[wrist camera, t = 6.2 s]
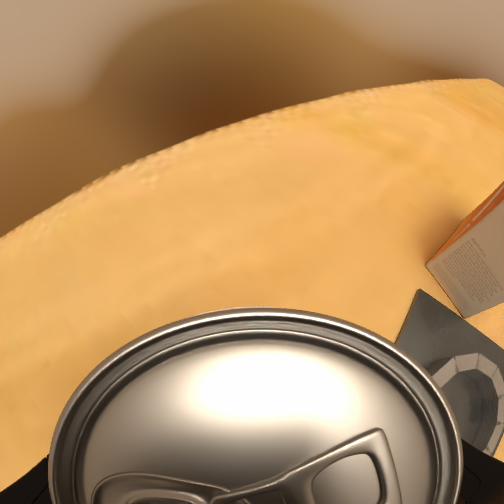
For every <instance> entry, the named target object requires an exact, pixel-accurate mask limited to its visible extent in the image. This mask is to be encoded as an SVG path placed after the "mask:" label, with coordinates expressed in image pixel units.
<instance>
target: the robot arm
mask: <svg viewBox="0 0 504 504" xmlns="http://www.w3.org/2000/svg"><path fill="white" fill-rule="evenodd" d="M461 442H462V450H463V476H462V484H461V490H460V494H459V498H458V502H457V504H504V462H502V461H500V460H498V459H496V458H494V457H492V456H490V455H488V454H486V453H484V452H483V451H481V450H479V449H477V448H476V447H474V446H473V445H471V444H469V443H468V442H466V441H465V440H463V439H462V438H461ZM48 461H49V454H48V455H47V458H46V457H45V458H44V459H42V460H41V461H40V462H39V463H38V464H37V465H36V466H35V467H33V468H32V469H31V470H30V471H29V472H28V473H26V474H25V475H24V476H22V477H21V478H20V479H18V480H17V481H16V482H14V483H13V484H12V485H10V486H9V487H7V488H6V489H4V490H3V491H1V492H0V504H52V500H51V495H50V490H49V480H48Z"/></svg>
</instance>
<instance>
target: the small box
mask: <svg viewBox="0 0 504 504" xmlns="http://www.w3.org/2000/svg"><path fill="white" fill-rule="evenodd" d="M426 268H427V269H428V270H429V271H430V273H431V274H432V275H433V276H434V278H435V279H436V280H437V282H438V283H439V284H440V286H441V287H442V288H443V290H444V291H445V292H446V294H447V295H448V297H449V298H450V299H451V301H452V302H453V304H454V305H455V306H456V308H457V309H458V311H459V312H460V313H461V315H462V316H463V317H464V318H468V317H470V316H473V315H475V314H477V313H480V312H482V311H485V310H487V309H489V308H492V307H494V306H496V305H498V304H501V303H503V302H504V182H503V183H502V184H501V185H500V186H499V187H498V188H497V189H496V190H495V191H494V192H493V193H492V194H491V195H490V196H489V197H488V198H487V199H486V200H484V201H483V202H482V203H481V204H480V205H479V206H478V207H477V208H476V209H475V210H473V211H472V212H471V213H470V214H469V215H468V216H467V217H466V218H465V219H464V220H463V221H462V222H461V224H460V225H459V227H458V228H457V229H456V231H455V232H454V233H453V234H452V235H451V237H450V238H449V239H448V240H447V241H446V243H445V244H444V245H443V246H442V247H441V248H440V249H439V250H438V252H437V253H436V254H435V255H434V256H433V257H432V258H431V259H430V260H429V261H428V262H427V263H426Z"/></svg>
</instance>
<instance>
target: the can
mask: <svg viewBox="0 0 504 504" xmlns="http://www.w3.org/2000/svg"><path fill="white" fill-rule="evenodd" d="M462 476H463V450H462V442H461V437H460V432H459V428H458V425H457V421H456V419H455V416H454V413H453V411H452V409H451V406H450V404H449V402H448V400H447V399H446V397H445V395H444V393H443V392H442V390H441V389H440V387H439V386H438V384H437V383H436V382H435V380H434V379H433V378H432V377H431V375H430V374H429V373H428V372H427V371H426V370H425V369H424V368H423V367H422V366H421V365H420V364H419V363H418V362H417V361H416V360H415V359H414V358H413V357H412V356H410V355H409V354H408V353H407V352H405V351H404V350H403V349H401V348H400V347H399V346H397V345H396V344H394V343H393V342H391V341H389V340H388V339H386V338H384V337H382V336H381V335H379V334H377V333H375V332H373V331H371V330H369V329H366V328H364V327H362V326H359V325H357V324H354V323H351V322H349V321H346V320H343V319H339V318H336V317H332V316H328V315H324V314H320V313H315V312H309V311H303V310H295V309H287V308H279V307H266V306H247V307H233V308H225V309H219V310H213V311H209V312H204V313H200V314H197V315H193V316H190V317H187V318H184V319H182V320H179V321H175V322H172V323H170V324H167V325H164V326H162V327H159V328H157V329H154V330H152V331H150V332H148V333H146V334H144V335H142V336H140V337H138V338H136V339H134V340H132V341H131V342H129V343H127V344H126V345H124V346H122V347H121V348H119V349H118V350H117V351H115V352H114V353H112V354H111V355H110V356H108V357H107V358H106V359H105V360H103V361H102V362H101V363H100V364H99V365H98V366H97V367H95V368H94V369H93V370H92V371H91V372H90V373H89V374H88V375H87V377H86V378H85V379H84V380H83V381H82V382H81V383H80V385H79V386H78V387H77V389H76V390H75V391H74V393H73V394H72V396H71V397H70V399H69V400H68V402H67V404H66V405H65V407H64V409H63V411H62V413H61V415H60V417H59V420H58V422H57V425H56V428H55V431H54V434H53V437H52V441H51V446H50V452H49V461H48V480H49V490H50V495H51V500H52V504H457V502H458V498H459V494H460V490H461V484H462Z"/></svg>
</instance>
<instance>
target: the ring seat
mask: <svg viewBox="0 0 504 504" xmlns="http://www.w3.org/2000/svg"><path fill="white" fill-rule="evenodd" d="M395 344H396V345H397V346H399V347H400V348H401V349H403V350H404V351H405V352H407V353H408V354H409V355H410V356H412V357H413V358H414V359H415V360H416V361H417V362H418V363H419V364H420V365H421V366H422V367H423V368H424V369H425V370H426V371H427V372H428V373H429V374H430V375H431V377H432V378H433V379H434V380H435V382H436V383H437V384H438V386H439V387H440V389H441V390H442V392H443V393H444V395H445V397H446V399H447V400H448V402H449V404H450V406H451V409H452V411H453V413H454V416H455V419H456V421H457V425H458V428H459V432H460V437H461V438H462V439H463V440H465V441H466V442H468V443H469V444H471V445H473V446H474V447H476V448H477V449H479V450H481V451H483V452H484V453H486V454H488V455H490V456H492V457H493V456H494V454H495V451H496V449H497V447H498V445H499V443H500V440H501V438H502V436H503V433H504V350H503V349H502V348H501V347H500V346H498V345H497V344H496V343H494V342H493V341H492V340H491V339H489V338H488V337H487V336H485V335H484V334H483V333H481V332H480V331H479V330H477V329H476V328H475V327H473V326H472V325H471V324H469V323H468V322H467V321H465V320H464V319H462V318H461V317H460V316H458V315H457V314H456V313H454V312H453V311H451V310H450V309H449V308H447V307H446V306H444V305H443V304H442V303H440V302H439V301H437V300H436V299H434V298H433V297H432V296H430V295H429V294H427V293H426V292H424V291H423V290H421V289H418V290H417V292H416V295H415V298H414V300H413V303H412V305H411V308H410V310H409V312H408V315H407V317H406V320H405V322H404V324H403V326H402V329H401V331H400V333H399V335H398V338H397V340H396V342H395Z"/></svg>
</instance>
